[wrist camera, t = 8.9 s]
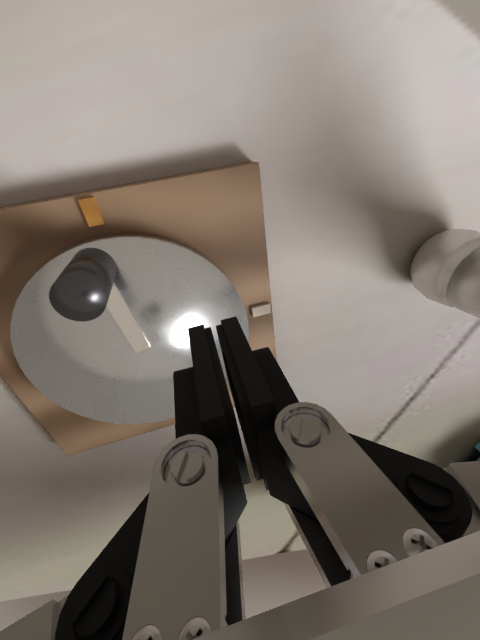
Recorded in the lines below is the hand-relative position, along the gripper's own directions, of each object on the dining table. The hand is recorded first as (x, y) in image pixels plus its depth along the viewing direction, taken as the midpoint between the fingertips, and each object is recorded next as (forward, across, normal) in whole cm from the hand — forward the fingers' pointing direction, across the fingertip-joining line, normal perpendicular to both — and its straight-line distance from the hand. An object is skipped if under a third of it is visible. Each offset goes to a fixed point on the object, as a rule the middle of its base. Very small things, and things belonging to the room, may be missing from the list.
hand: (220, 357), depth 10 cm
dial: (+12, +5, +6) cm, 15 cm away
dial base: (+14, +5, +6) cm, 16 cm away
